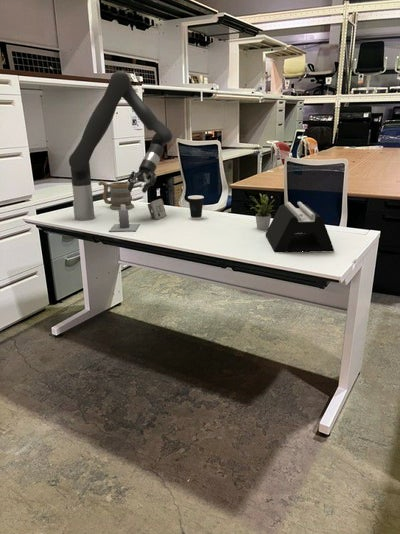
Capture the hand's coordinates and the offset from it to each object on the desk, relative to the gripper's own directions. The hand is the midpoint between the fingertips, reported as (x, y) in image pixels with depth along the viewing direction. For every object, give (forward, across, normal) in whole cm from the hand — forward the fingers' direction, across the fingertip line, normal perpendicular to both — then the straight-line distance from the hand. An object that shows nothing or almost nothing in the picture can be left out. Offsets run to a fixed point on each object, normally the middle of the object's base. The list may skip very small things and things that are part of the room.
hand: (136, 191), depth 197 cm
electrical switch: (+1, +1, +22) cm, 22 cm away
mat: (+18, 0, +4) cm, 19 cm away
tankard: (-6, -35, +28) cm, 46 cm away
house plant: (-3, +55, +25) cm, 61 cm away
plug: (+18, 0, +4) cm, 18 cm away
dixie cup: (-4, +19, +27) cm, 33 cm away
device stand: (+8, +78, +14) cm, 80 cm away
